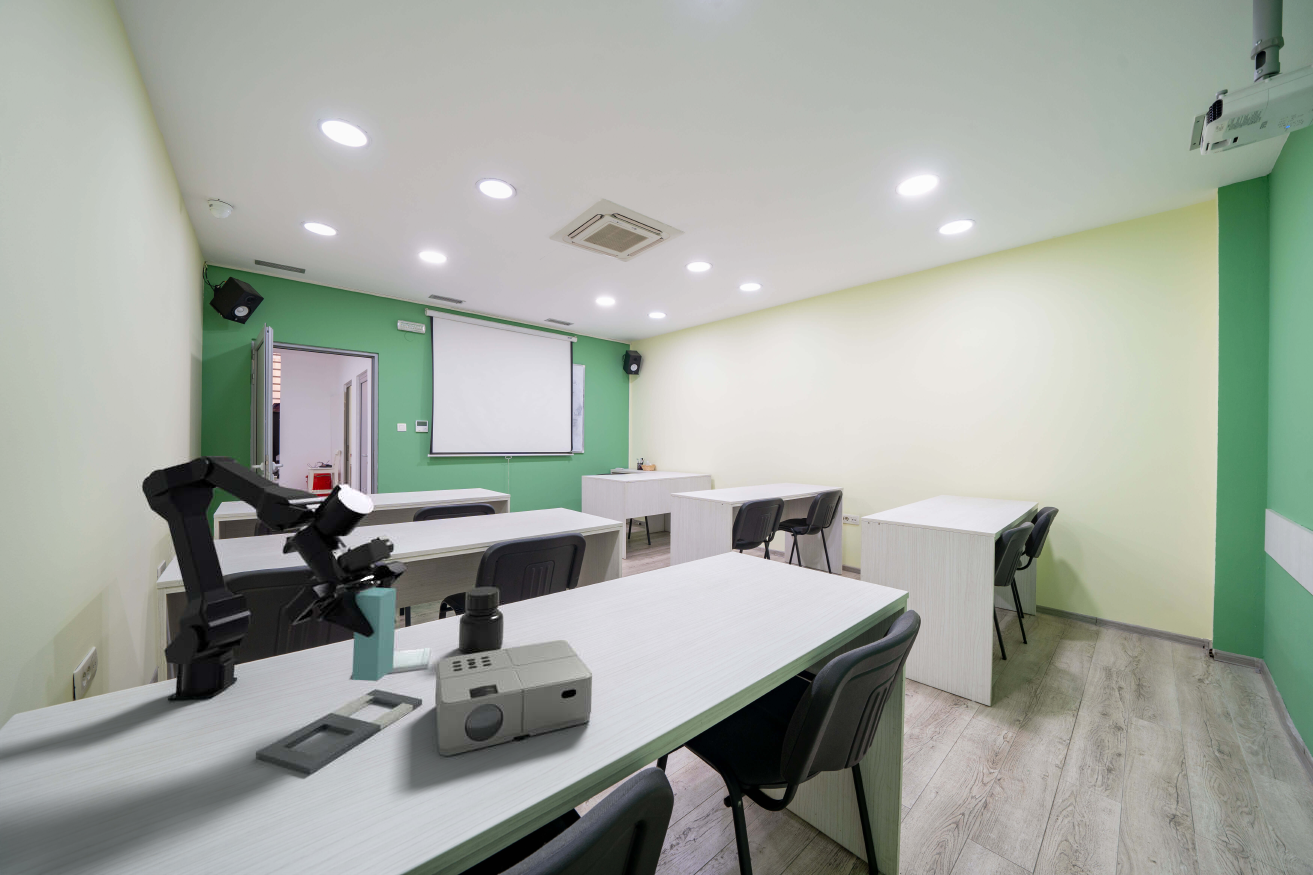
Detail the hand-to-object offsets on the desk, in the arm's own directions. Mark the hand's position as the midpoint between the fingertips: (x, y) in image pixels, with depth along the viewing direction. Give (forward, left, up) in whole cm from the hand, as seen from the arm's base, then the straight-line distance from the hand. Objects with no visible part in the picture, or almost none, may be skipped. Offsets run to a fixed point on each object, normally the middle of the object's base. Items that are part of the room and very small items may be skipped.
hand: (382, 629), depth 75 cm
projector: (+20, -2, -14) cm, 25 cm away
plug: (-1, +1, -7) cm, 7 cm away
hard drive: (-4, +20, -14) cm, 24 cm away
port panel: (-3, -3, -13) cm, 14 cm away
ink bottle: (+11, +26, -13) cm, 31 cm away
